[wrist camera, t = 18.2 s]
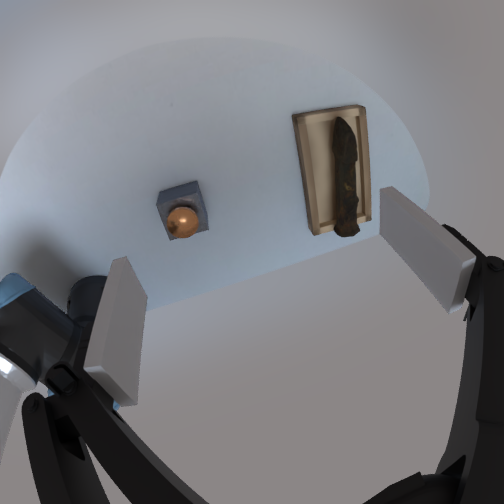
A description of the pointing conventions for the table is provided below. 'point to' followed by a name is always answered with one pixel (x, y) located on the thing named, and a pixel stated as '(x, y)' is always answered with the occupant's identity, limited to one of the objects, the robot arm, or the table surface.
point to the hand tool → (345, 178)
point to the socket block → (182, 204)
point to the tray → (330, 164)
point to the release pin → (182, 222)
